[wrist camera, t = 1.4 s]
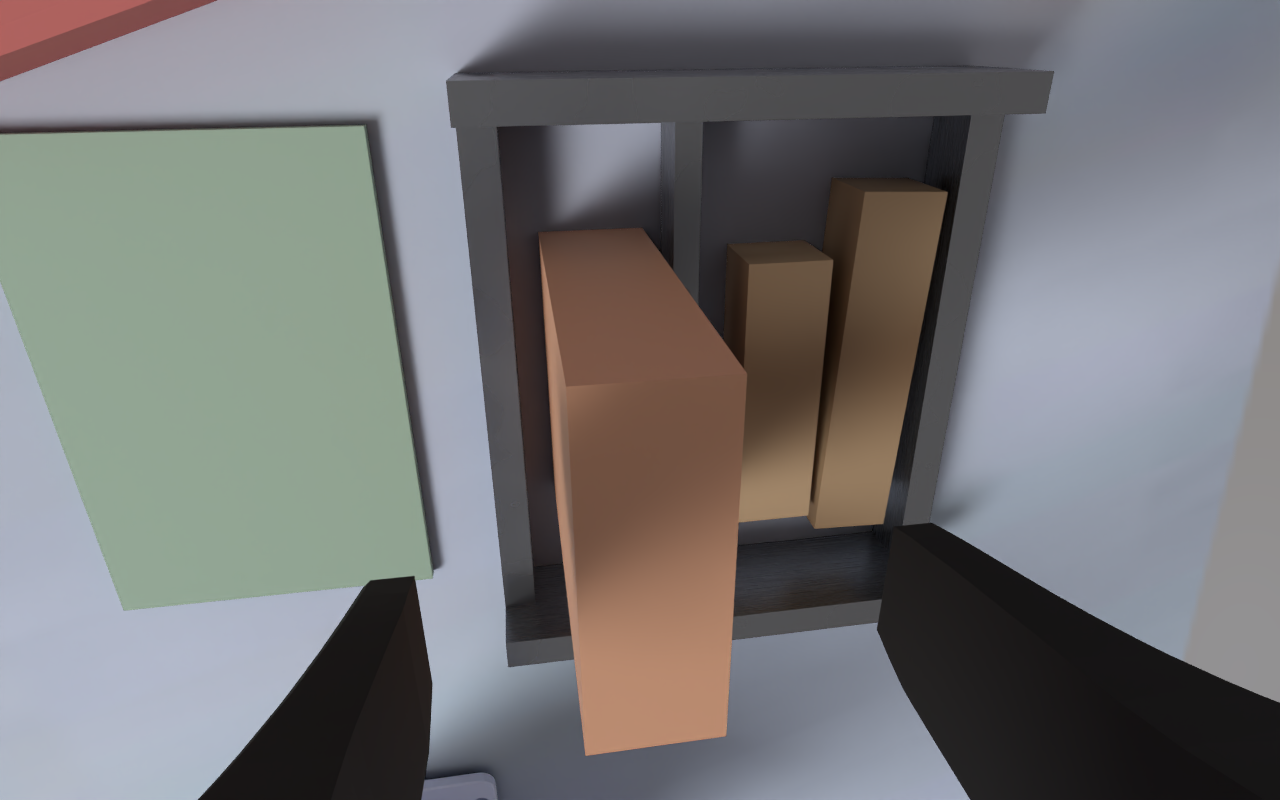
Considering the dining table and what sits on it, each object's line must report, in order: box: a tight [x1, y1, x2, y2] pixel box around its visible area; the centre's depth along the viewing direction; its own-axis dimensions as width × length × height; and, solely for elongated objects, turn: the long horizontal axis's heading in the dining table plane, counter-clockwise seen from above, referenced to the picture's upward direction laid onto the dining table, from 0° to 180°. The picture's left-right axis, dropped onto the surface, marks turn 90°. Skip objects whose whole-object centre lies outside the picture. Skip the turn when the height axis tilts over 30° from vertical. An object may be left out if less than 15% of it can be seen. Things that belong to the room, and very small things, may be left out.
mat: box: [0, 125, 434, 611], centre depth 19 cm, size 12×8×1 cm, turn 1°
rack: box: [446, 66, 1054, 667], centre depth 19 cm, size 14×12×3 cm
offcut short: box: [723, 240, 833, 522], centre depth 20 cm, size 7×2×2 cm, turn 1°
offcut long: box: [807, 178, 948, 529], centre depth 20 cm, size 9×2×2 cm, turn 178°
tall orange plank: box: [538, 228, 747, 756], centre depth 16 cm, size 7×2×9 cm, turn 1°
